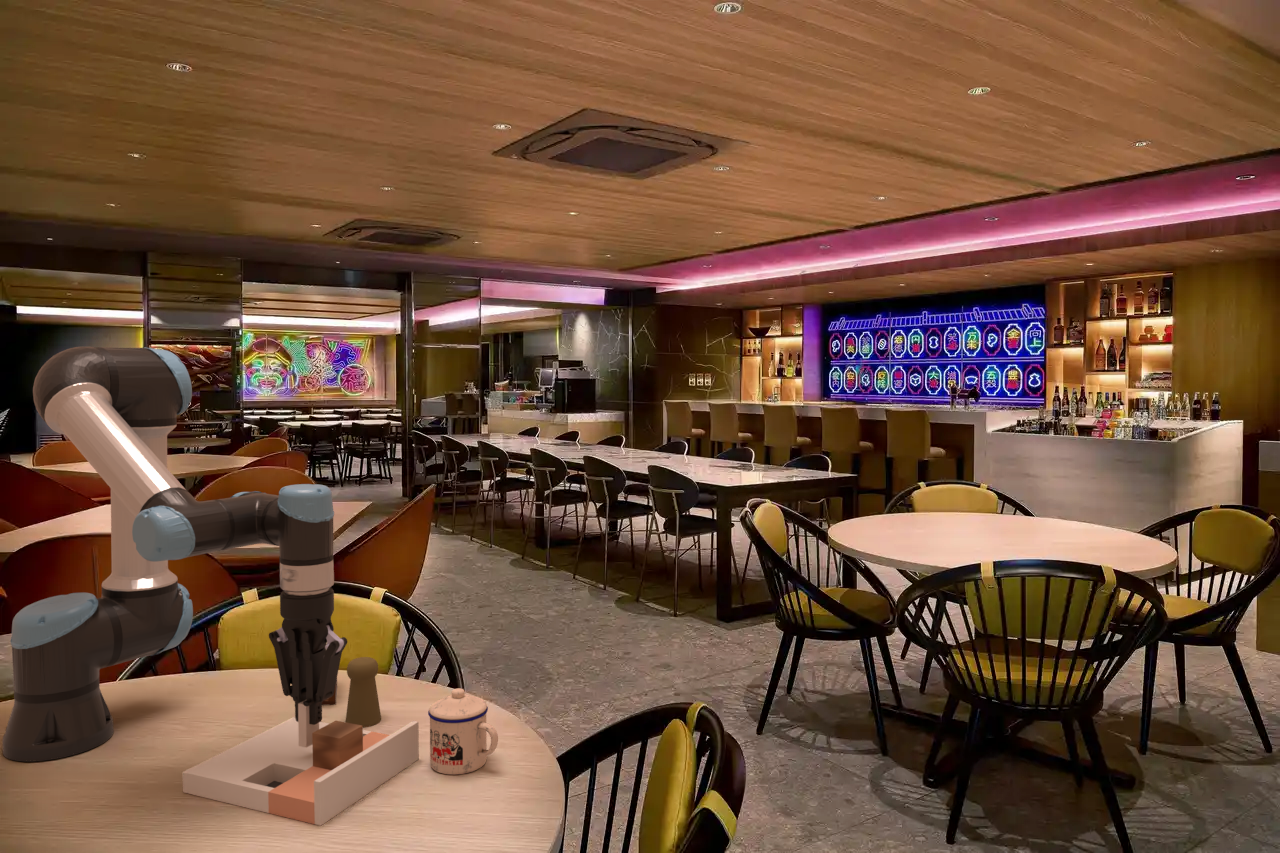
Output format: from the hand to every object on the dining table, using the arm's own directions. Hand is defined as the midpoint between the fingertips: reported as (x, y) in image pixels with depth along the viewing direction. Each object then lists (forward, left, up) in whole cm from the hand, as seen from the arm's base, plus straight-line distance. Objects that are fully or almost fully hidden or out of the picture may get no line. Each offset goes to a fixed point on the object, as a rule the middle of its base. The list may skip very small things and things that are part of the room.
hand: (309, 743), depth 132 cm
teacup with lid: (+20, +12, -5) cm, 24 cm away
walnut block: (+5, 0, -2) cm, 6 cm away
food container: (-21, +26, -5) cm, 34 cm away
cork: (-6, +20, -5) cm, 21 cm away
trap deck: (-1, 0, -5) cm, 5 cm away
